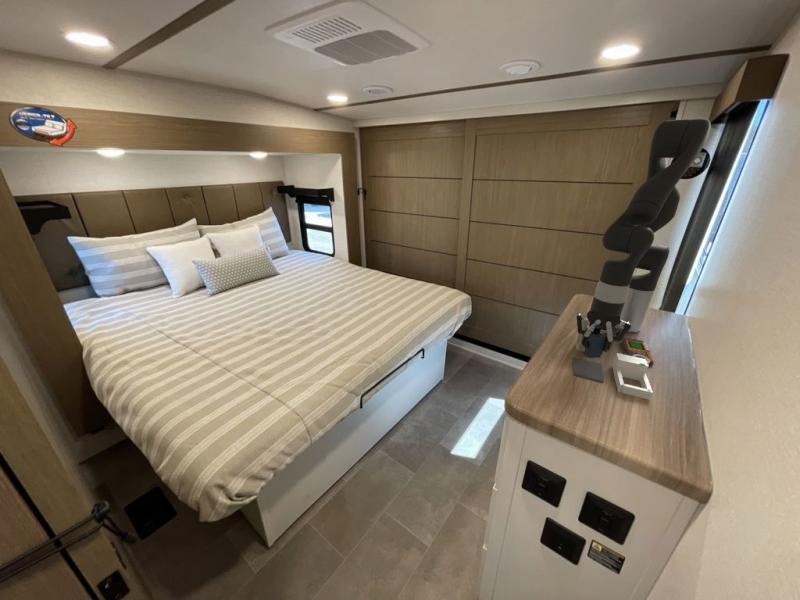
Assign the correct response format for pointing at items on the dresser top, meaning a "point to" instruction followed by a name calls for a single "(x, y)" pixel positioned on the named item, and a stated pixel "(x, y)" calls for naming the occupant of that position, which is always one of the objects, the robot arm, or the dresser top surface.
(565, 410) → the dresser top surface
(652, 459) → the dresser top surface
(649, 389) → the dock
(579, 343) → the skincare box
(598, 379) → the mat
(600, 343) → the vaping device
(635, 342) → the electronic device
